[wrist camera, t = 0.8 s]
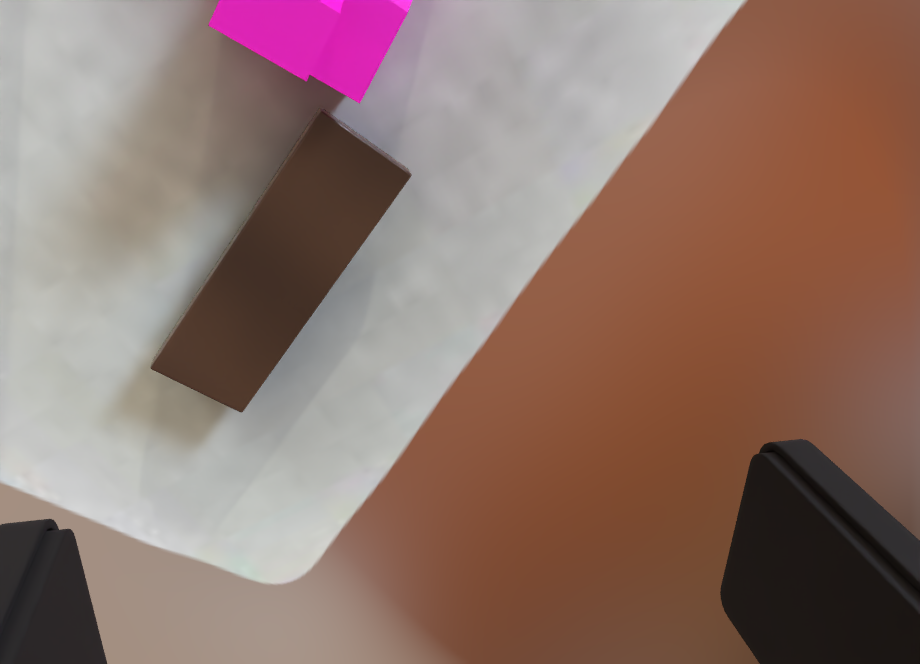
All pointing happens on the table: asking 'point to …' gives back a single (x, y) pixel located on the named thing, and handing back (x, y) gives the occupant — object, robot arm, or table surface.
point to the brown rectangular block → (281, 262)
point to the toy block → (317, 36)
